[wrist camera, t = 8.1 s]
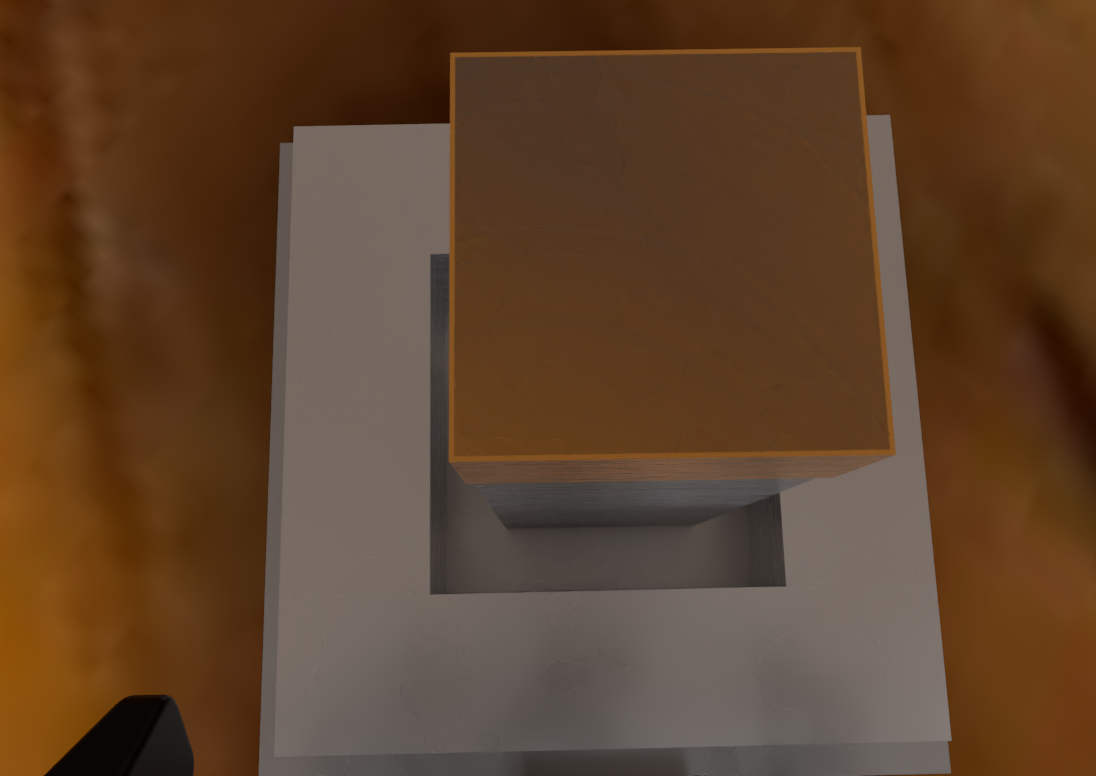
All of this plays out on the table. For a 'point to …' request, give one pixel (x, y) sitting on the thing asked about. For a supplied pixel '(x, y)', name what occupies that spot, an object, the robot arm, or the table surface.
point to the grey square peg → (661, 281)
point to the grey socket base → (555, 545)
